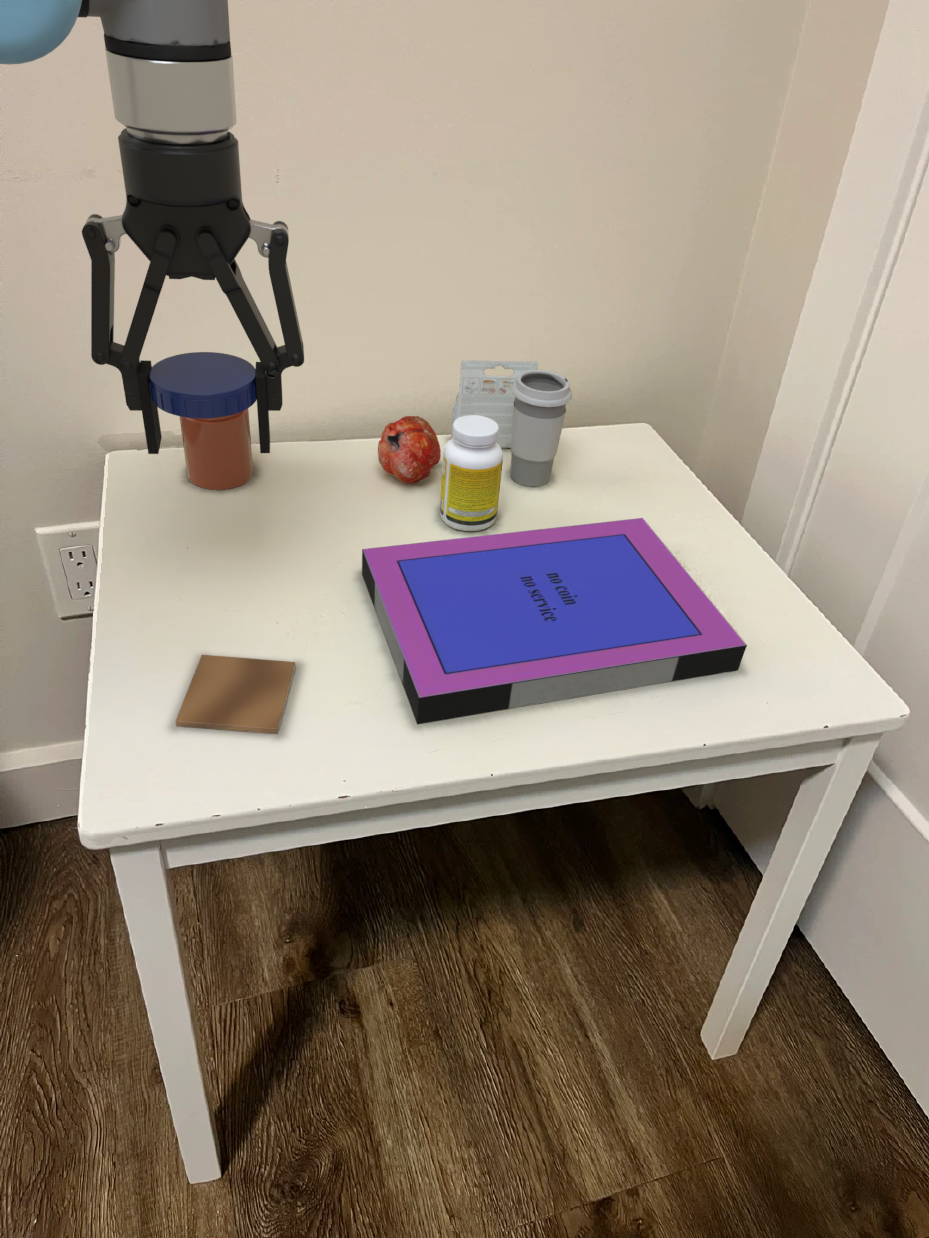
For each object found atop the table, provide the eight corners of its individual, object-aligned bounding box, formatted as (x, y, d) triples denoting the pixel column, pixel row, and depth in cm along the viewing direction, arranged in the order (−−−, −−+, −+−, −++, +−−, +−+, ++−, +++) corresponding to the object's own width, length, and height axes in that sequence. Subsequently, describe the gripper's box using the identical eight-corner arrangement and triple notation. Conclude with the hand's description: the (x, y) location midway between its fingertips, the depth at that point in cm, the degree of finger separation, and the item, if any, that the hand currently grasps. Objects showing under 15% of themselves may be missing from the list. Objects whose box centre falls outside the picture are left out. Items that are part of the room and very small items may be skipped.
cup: (566, 491, 105) (582, 394, 97) (510, 494, 103) (523, 395, 96) (547, 460, 110) (562, 366, 103) (494, 463, 109) (505, 367, 101)
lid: (267, 378, 74) (265, 356, 73) (246, 423, 67) (245, 399, 66) (167, 370, 73) (164, 347, 72) (137, 414, 67) (134, 390, 66)
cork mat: (176, 726, 72) (175, 720, 72) (202, 659, 78) (201, 654, 78) (277, 734, 72) (277, 728, 72) (295, 667, 78) (295, 661, 78)
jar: (179, 487, 99) (168, 406, 93) (196, 455, 105) (187, 376, 99) (245, 492, 100) (238, 411, 94) (259, 460, 105) (253, 382, 99)
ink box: (449, 439, 113) (456, 350, 105) (523, 439, 114) (534, 351, 107) (452, 450, 110) (459, 360, 103) (527, 450, 112) (539, 361, 105)
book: (362, 549, 88) (642, 517, 96) (361, 574, 89) (637, 541, 98) (418, 697, 72) (746, 645, 80) (417, 724, 74) (738, 670, 82)
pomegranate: (400, 472, 110) (346, 444, 102) (436, 422, 108) (384, 390, 100) (435, 506, 106) (381, 480, 98) (473, 455, 104) (422, 424, 96)
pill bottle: (507, 524, 98) (519, 431, 92) (460, 539, 96) (468, 444, 89) (474, 497, 102) (483, 406, 95) (428, 511, 99) (433, 418, 92)
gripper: (336, 126, 64) (338, 423, 78) (19, 108, 60) (82, 423, 74) (342, 151, 58) (343, 467, 72) (-8, 133, 54) (65, 470, 68)
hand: (210, 445), depth 73 cm, fingers closed on lid, 8 cm apart
